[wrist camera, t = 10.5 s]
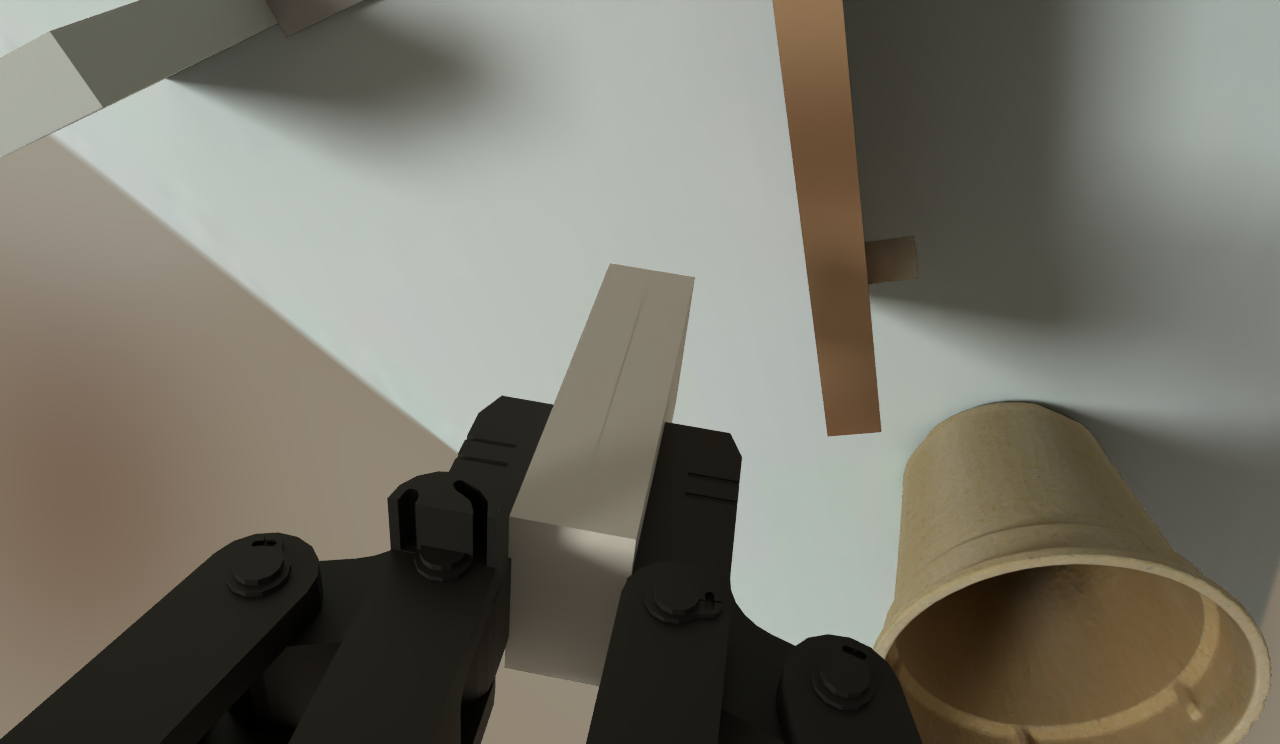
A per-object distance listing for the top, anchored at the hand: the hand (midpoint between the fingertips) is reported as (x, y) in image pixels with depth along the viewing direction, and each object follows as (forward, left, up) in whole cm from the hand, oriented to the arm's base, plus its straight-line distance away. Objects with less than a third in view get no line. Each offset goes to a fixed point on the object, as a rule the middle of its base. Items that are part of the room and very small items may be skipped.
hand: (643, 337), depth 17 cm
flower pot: (-5, +14, -11) cm, 19 cm away
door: (-4, -1, -11) cm, 12 cm away
